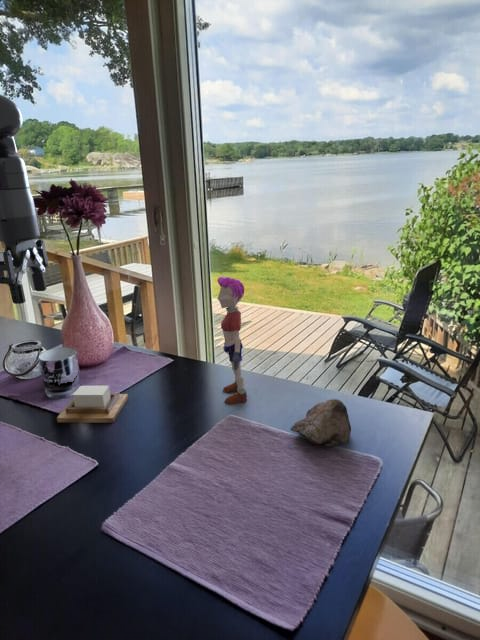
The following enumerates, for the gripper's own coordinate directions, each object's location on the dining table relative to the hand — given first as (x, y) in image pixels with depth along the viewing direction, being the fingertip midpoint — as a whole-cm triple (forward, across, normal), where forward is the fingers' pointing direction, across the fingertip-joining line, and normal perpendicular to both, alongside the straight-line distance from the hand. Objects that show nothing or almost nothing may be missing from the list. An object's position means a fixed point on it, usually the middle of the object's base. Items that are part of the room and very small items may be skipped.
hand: (30, 296), depth 88 cm
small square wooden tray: (+30, -7, +6) cm, 31 cm away
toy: (+30, -14, +39) cm, 51 cm away
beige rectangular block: (+29, -7, +6) cm, 30 cm away
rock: (+30, +3, +58) cm, 66 cm away
